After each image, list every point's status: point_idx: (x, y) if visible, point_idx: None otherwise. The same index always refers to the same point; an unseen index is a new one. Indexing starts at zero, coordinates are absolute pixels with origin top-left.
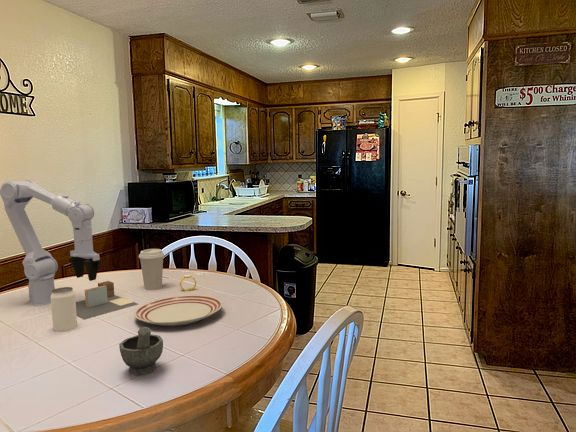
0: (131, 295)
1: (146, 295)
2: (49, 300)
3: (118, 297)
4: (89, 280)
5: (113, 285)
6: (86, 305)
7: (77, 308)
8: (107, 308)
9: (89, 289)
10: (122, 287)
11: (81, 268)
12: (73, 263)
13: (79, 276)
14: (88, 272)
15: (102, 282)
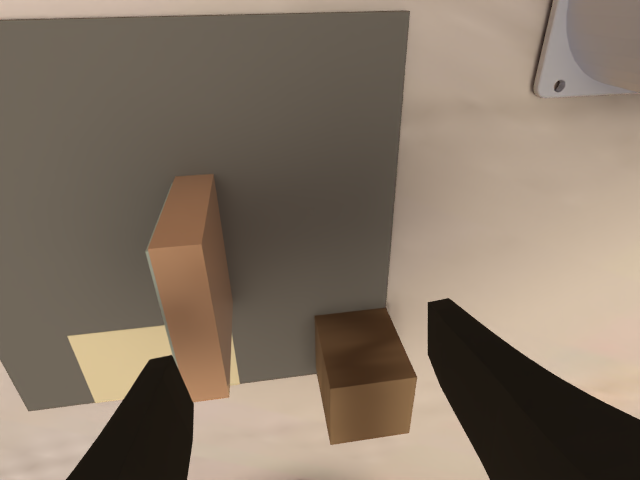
0: (265, 422)
1: (201, 465)
2: (581, 6)
3: (262, 373)
4: (167, 356)
5: (327, 424)
6: (199, 180)
7: (225, 114)
8: (56, 264)
9: (180, 281)
10: (445, 427)
11: (480, 434)
12: (567, 462)
13: (432, 328)
14: (98, 457)
15: (404, 401)
